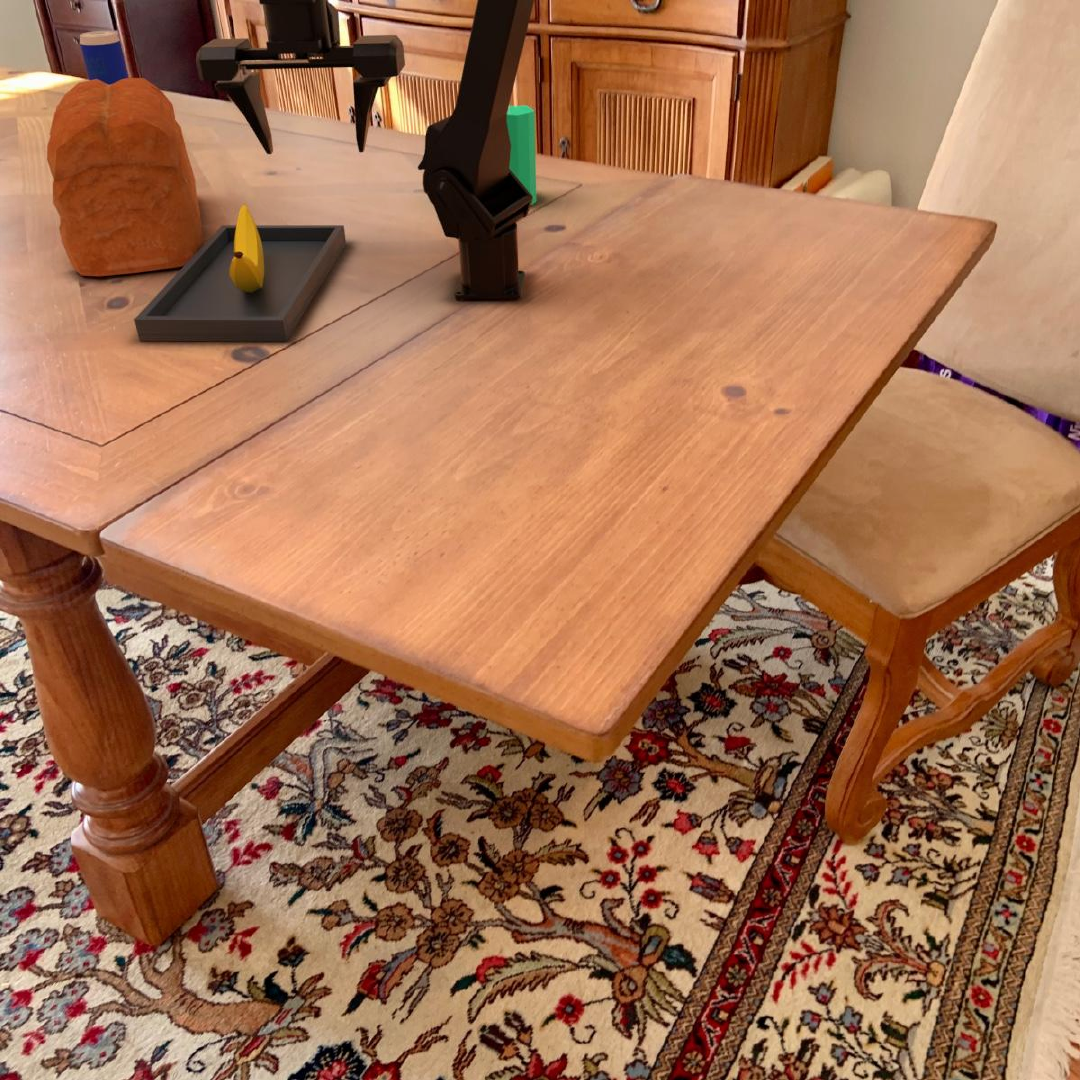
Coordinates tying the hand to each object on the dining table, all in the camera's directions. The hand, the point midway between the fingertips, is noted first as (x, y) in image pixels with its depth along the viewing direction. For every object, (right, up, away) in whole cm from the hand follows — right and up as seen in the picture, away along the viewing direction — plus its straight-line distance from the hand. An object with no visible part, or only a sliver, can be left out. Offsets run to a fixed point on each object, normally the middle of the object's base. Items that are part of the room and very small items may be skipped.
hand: (316, 152), depth 102 cm
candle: (+19, +3, +23) cm, 30 cm away
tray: (-7, -13, +1) cm, 15 cm away
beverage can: (-38, +18, +46) cm, 62 cm away
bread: (-23, -4, +15) cm, 28 cm away
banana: (-7, -13, +1) cm, 14 cm away
